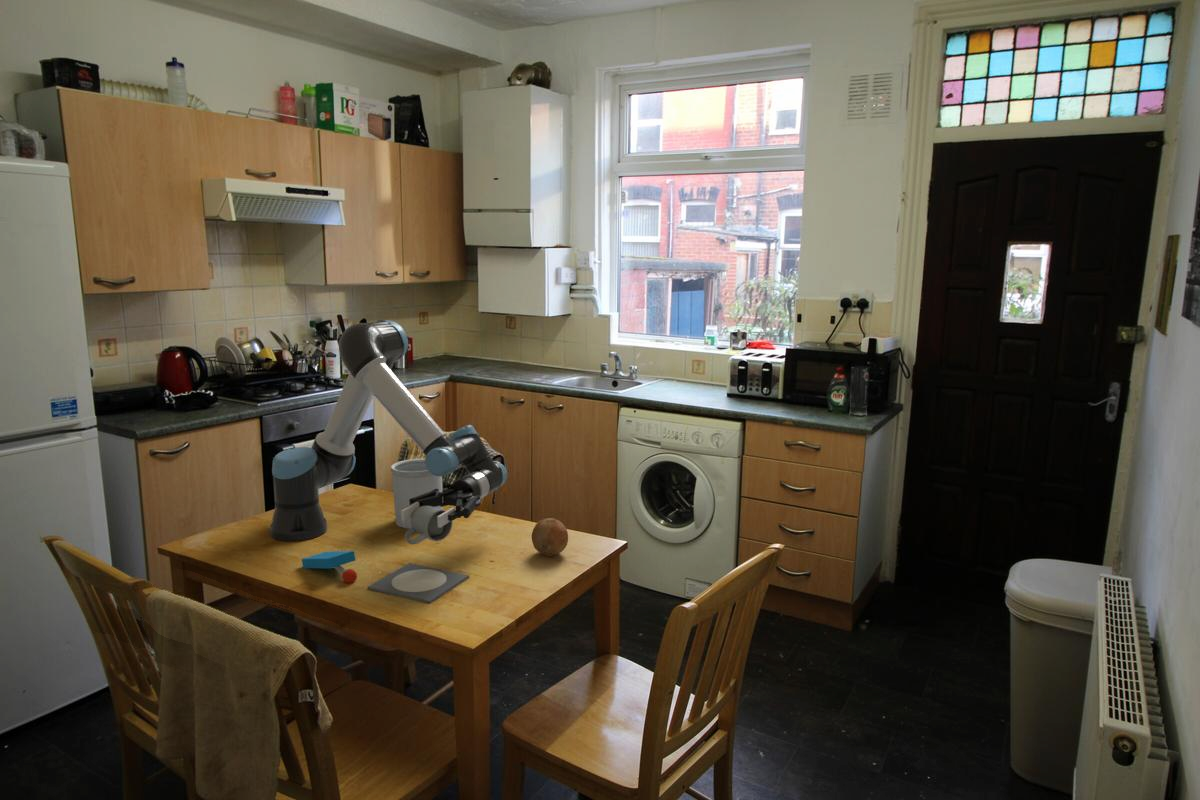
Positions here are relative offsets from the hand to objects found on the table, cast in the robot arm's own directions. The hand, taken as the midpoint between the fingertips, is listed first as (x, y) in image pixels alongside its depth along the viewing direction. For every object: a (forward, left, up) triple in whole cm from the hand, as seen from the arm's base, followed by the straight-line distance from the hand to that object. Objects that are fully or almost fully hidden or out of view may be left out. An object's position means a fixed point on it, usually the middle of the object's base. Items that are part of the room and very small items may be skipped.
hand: (420, 519), depth 188 cm
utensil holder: (-27, +35, -16) cm, 47 cm away
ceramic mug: (0, +3, -6) cm, 7 cm away
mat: (0, -1, -16) cm, 16 cm away
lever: (-23, -5, -17) cm, 29 cm away
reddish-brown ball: (+20, +29, -16) cm, 39 cm away
